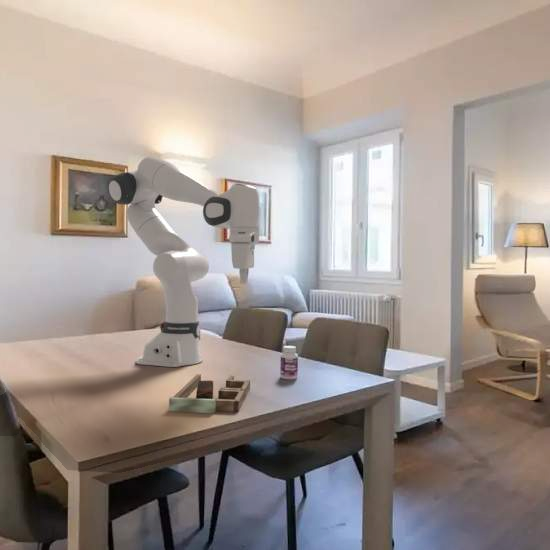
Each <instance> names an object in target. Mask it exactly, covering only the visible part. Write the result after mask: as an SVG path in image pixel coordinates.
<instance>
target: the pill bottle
mask: <svg viewBox="0 0 550 550" xmlns="http://www.w3.org/2000/svg"><path fill="white" fill-rule="evenodd" d="M282 351H283V352H282V353H281V354H280V366H279V367H280V371H279V372H280V373H279V377H280V378H281V379H284V380H296V379H297V378H298V370H299V355H298V353H297V347H296V346H295V345H294V346H293V345H284V346H282Z"/></svg>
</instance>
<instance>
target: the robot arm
mask: <svg viewBox="0 0 550 550" xmlns="http://www.w3.org/2000/svg"><path fill="white" fill-rule="evenodd" d="M107 191H108V192H107V193H108V194H109V196H110V198H111V199H112V201H113V202H114V203H115V204H118V205H121V206H122V205H125V206H126V205H128V207H127V209H126V213H125V214H126V218H127V219H126V220H128V222H129V224H130V227H131V228H132V229H133V231H134V232H135V234H136V235H137V237H139V239H140V240H141V242H142V243H143V244H144V246H145V247H146V248H147V250H149V252H150V253H151V254H153V255H155V256H156V258H155V259H154V261H153V264H152V269H153V272H154V275H155V277H156V278H157V280H159V282H160V283H161V286H162V290H163V293H164V299H165V321H163V322H162V323H161V324H159V327H158V328H159V329H160V332H159V333H157V334H156V335H155V336H154V337H153V338H151V339H150V340H149V341H148V342H147V343H146V344H145V345H144V348H143V353H142V355H141V356H139V357H138V358H136V362H135V363H136V364H137V365H143V366H144V365H146V366H157V367H158V366H159V367H166V368H167V367H168V368H178V367H183V366H190V365H196V364H199V363H201V362H203V358H202V355H201V350H200V343H199V341H200V340H198V337H199V329H200V322H199V300H198V297H197V296H196V295H195V293H194V291H193V287H192V282H197V281H199V280H201V279H203V278H205V277H206V276H207V274H208V273H209V269H210V268H209V266H210V265H209V261H208V259H207V258H206V256H204V255H203V254H201V253H200V252H198V251H197V250H196V249H194V248H193V247H192V246H191V245H190V244H189V243H187V242H186V241H185V239H183V238H182V237H180V235H178V234H177V232H175V230H174V229H173V228H172V227H171V226H170V225H169V223H168V222H167V220H165V218H164V217H163V215H161V214H160V212H159V211H158V210H157V208H156V205H159V204H160V203H161V202H162V200H163V198H166V199H169V200H172V201H176V202H182V203H183V202H184V203H189V204H193V205H194V204H195V205H199V206H201V207H203V208H202V215H203V219H204V221H205V222H206V224H208V225H210V226H211V227H214V228H221V229H229V236H228V238H229V239H228V242H229V243H230V244H231V245H230V247H231V250H230V251H231V260H232V261H231V263H232V267H233V269H238V270H239V279H240V280H239V281H240V284H241V285H242V284H247V283H248V282H249V281H248V278H249V273H250V269H254V268H255V246H256V245H258V244H260V225H259V217H260V196H259V192H258V189H257V188H256V187H255V186H252V185H248V184H243V183H235V184H232V185H231V187H230V188H229V189H227V190H226V191H224V192H223V193H219V192H217V191H215V190H212V189H211V188H209V187H207V186H206V185H204V184H203V183H202V182H199V181H198V180H197V179H195V178H194V177H192V176H191V175H190V174H188V173H187V172H186V171H184V170H182V169H181V168H180V167H178V166H176V165H175V164H173V163H171V162H169V161H168V160H165V159H162V158H160V157H157V156H156V157H155V156H146V157H144V158H143V159H141V161H140V162H139V163H138V166H137V170H134V171H127V172H122V173H118V174H116V175H114V176H112V177H111V178H110V179H109V180H108V184H107Z"/></svg>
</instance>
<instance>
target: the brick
mask: <svg viewBox="0 0 550 550" xmlns="http://www.w3.org/2000/svg"><path fill="white" fill-rule="evenodd" d="M195 395H196V396H195V398H200V399H214V381H213V380H201V381H199V383H198V387H197V388H196V393H195Z"/></svg>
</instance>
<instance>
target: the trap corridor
mask: <svg viewBox="0 0 550 550" xmlns="http://www.w3.org/2000/svg"><path fill="white" fill-rule="evenodd" d="M199 381H202V374H199V373H198V374H196V375H194V376H193V378H191V379H190V380H189V381H188V382H187V383H186V384H185V385H184V386H183V387H181V389H180V390H178V392H177V393H176V394H174V396H172V397H171V396H170V398H169V399H168V412H177V413H178V412H179V413H183V412H184V413H198V414H199V413H200V414H201V413H202V414H203V413H204V414H216V412H232V413H233V412H234V413H235V412H237V413H238V412H239V411H240V410H241V408H242V406H243V404H244V401H245V400H246V398H247V396H248V394H249V392H250V390H251V381H250V380H248V379H247V380H246V379H245V380H243V379H242V380H241V379H235V375H229V376H228V377H227V379H226V380H225V387H220V388H219V390H218V396H217V397H218V398H213V399H200V398H196V397H189V396H191V394H193V392H194V391H195V390H197V387H198V383H199Z"/></svg>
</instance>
